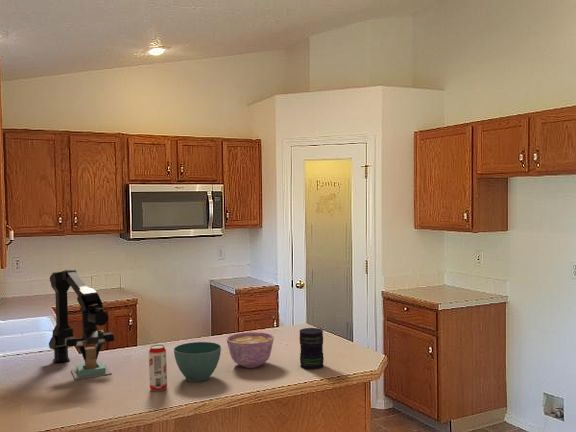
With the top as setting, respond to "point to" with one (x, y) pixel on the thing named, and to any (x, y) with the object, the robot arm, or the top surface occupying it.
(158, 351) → the beer can
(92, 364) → the walnut peg
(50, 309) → the top surface
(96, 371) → the socket block
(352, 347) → the top surface
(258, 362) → the bowl of food
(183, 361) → the teal bowl
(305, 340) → the storage jar
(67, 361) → the robot arm
